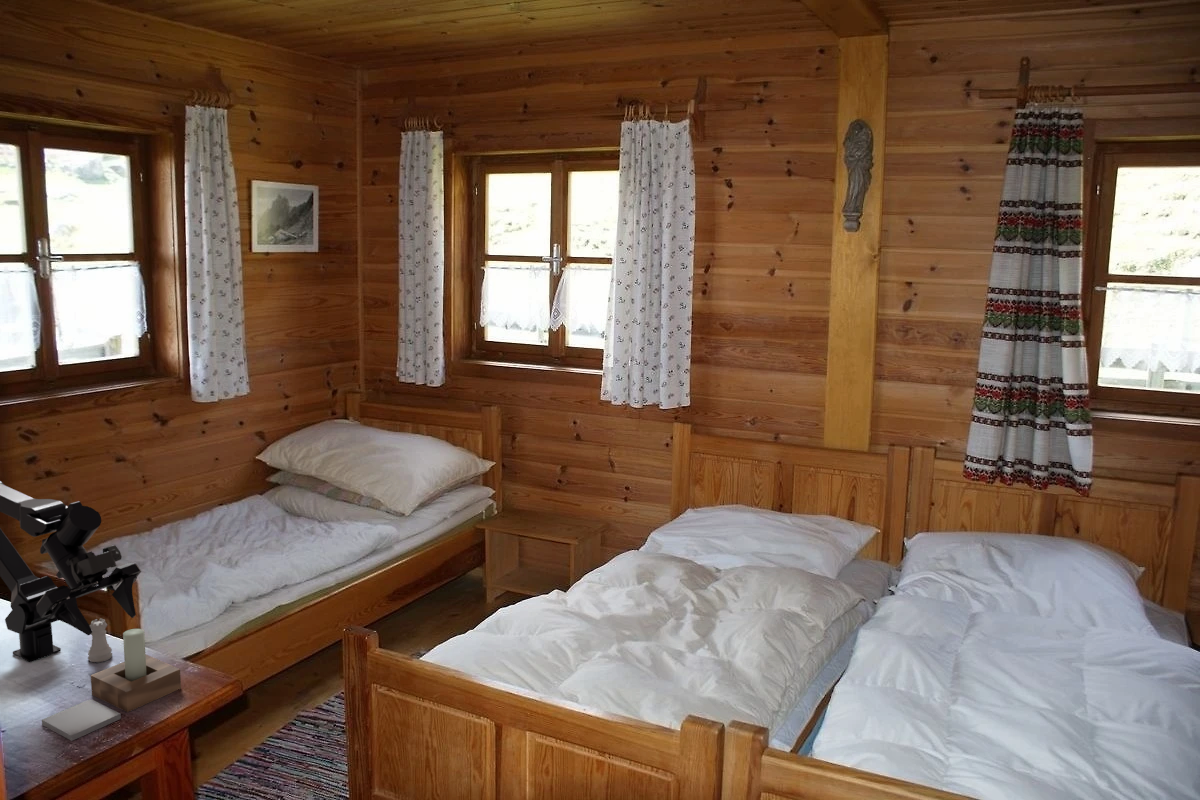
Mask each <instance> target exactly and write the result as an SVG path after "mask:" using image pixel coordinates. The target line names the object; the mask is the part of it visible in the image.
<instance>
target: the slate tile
mask: <svg viewBox="0 0 1200 800" xmlns="http://www.w3.org/2000/svg"><path fill="white" fill-rule="evenodd" d="M121 719H122V716H121V713H120V712H118V711H116V710H115V709H113V708H112V709H111V708H110V707H108V706H106V705H104V704H102V703H100V702H98V701H95V700H94V699H93V698H92V699H91V698H90V699H88V700H85V701H83V702H80V703H78V704H75V705H73V706H71V707H69V708H65V710H62V711H60V712H57V713H55V714H53V715H52V714H51V715H50V716H47V717H45V718H42V719H41V726H44V727H45V728H47V729H49V730H51V731H53V732H54V733H57V734H58V735H60V736H62V737H64V738H65V739H67V740H70V741H71V742H73V741H74V740H77V739H79V738H81V737H83V736H85V735H88V734H90V733H92V732H94V731H97V730H99V729H101V728H103V727H105V726H108V725H110V724H112V723H114V722H115V723H116V722H117V721H119V720H121Z"/></svg>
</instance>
